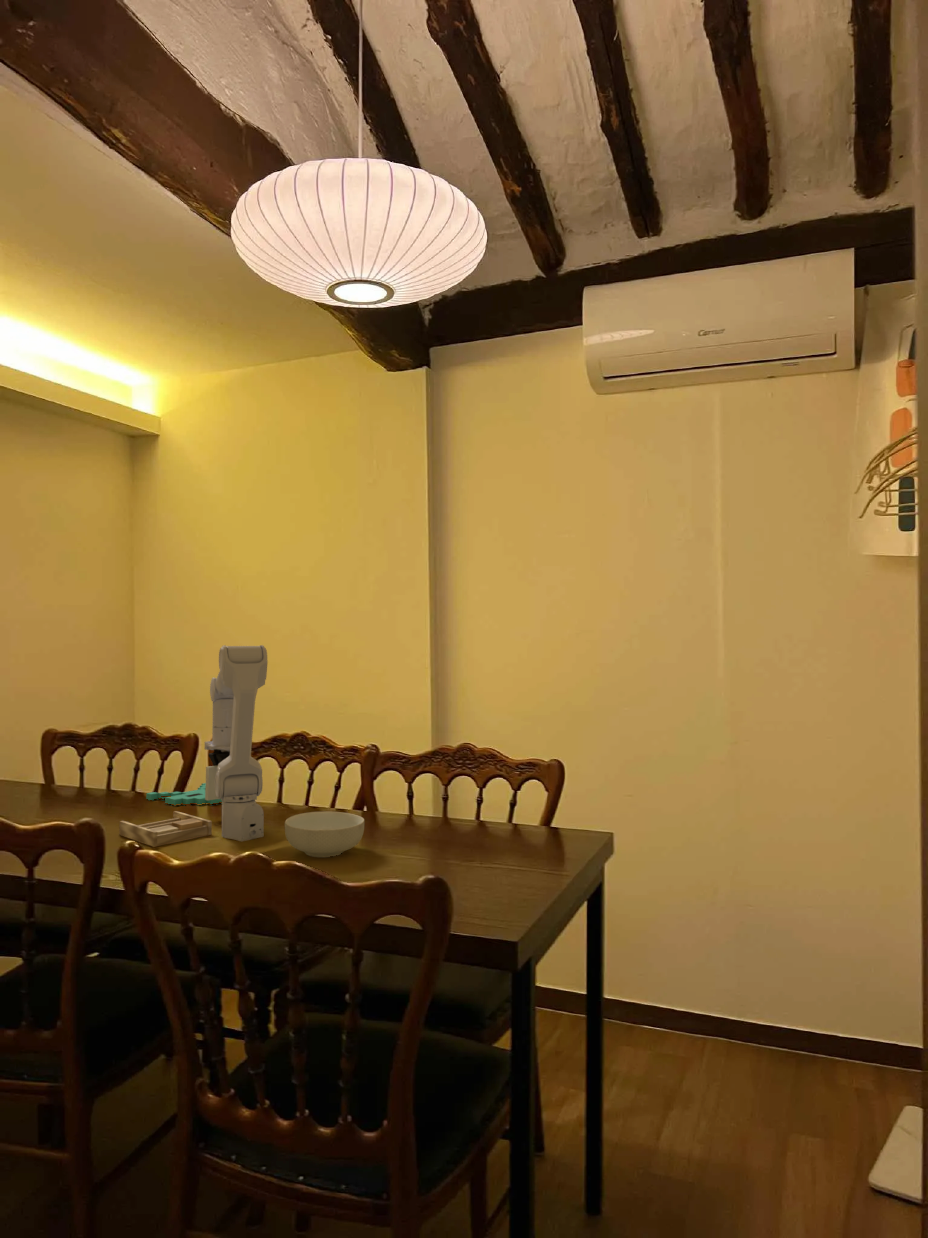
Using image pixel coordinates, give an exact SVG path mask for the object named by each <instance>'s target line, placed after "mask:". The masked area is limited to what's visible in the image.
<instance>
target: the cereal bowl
mask: <svg viewBox="0 0 928 1238" xmlns="http://www.w3.org/2000/svg"><path fill="white" fill-rule="evenodd" d="M364 831H365V818H364V817H362V816H360V815H357V814H354V813H349V812H340V811H311V812H304V813H299V814H295V815H291V816H290V817H288V818H286V820H285V821H284V834H285V838H286V840H287V842H288V844H289V845H290V846H291V847H293V848H294V849H295V850H298V851H300V852H303V853H305V855H307V856H309V857H313V858H331V857H330V856H333V857H337V856H339V855H342V854H343V853H344V852H345V851H347V850H348V851H349V850H350V849H352V848H354V847H355V846H358V844H359V842H361V840H362V839H363V835H364ZM341 853H342V854H341ZM336 855H337V856H336Z"/></svg>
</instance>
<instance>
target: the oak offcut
mask: <svg viewBox="0 0 928 1238" xmlns="http://www.w3.org/2000/svg"><path fill="white" fill-rule="evenodd" d="M172 826H173V827H176V828H178V831H180V830H185V829H190V828H195V827H200V826H202V821H200V820H197V819H193V818H192V819H187V820H181V821H176V822H172Z"/></svg>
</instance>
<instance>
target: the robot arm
mask: <svg viewBox="0 0 928 1238" xmlns="http://www.w3.org/2000/svg"><path fill="white" fill-rule="evenodd" d="M268 663H269V661H268V651H267V649H266V647H265V645H263V644H262V645H226V644H225V645H222V646H221V647H220V648H219V650H218V667H219V672H218V673H217V676H216V677H212V678H211V679H210V680H211V681H210V686H209V687H210V688H209V693H210V694H209V695H210V700H211V702H212V724H211V725H212V726H211V727H212V729H211V730H212V732H211V733H212V738H211V739H212V740H210V741H204V750H206V751H207V750H208V751H209V750H210V751H213V752H209V753H208V757H209V759H210V761H211V763H212V766H217V765H218V767H217V773H216V775H215V793H216V796H217V797H218V799H221V800H222V803H221V837H222V838H223V839H228V840H229V839H231V840H236V841H238V842H246V841H250V840H254V839H257V838H263V837H264V831H265V829H264V827H265V826H264V825H265V824H264V820H265V818H264V817H265V816H264V814H265V813H264V812H265V811H264V809H263V807H262V805H260V804H258V803H257V799H258V797H259V796H260V795H261V794H262V792H263V786H264V785H263V784H264V783H263V768H262V765H261V763H260V762H259V760H257V759H256V758H254V757H252V745H253V734H254V721H255V708H256V705H255V704H256V698H257V694H258V690H259V689H260V688H262V687H263V686H265V685H266V680H267V675H268Z"/></svg>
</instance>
